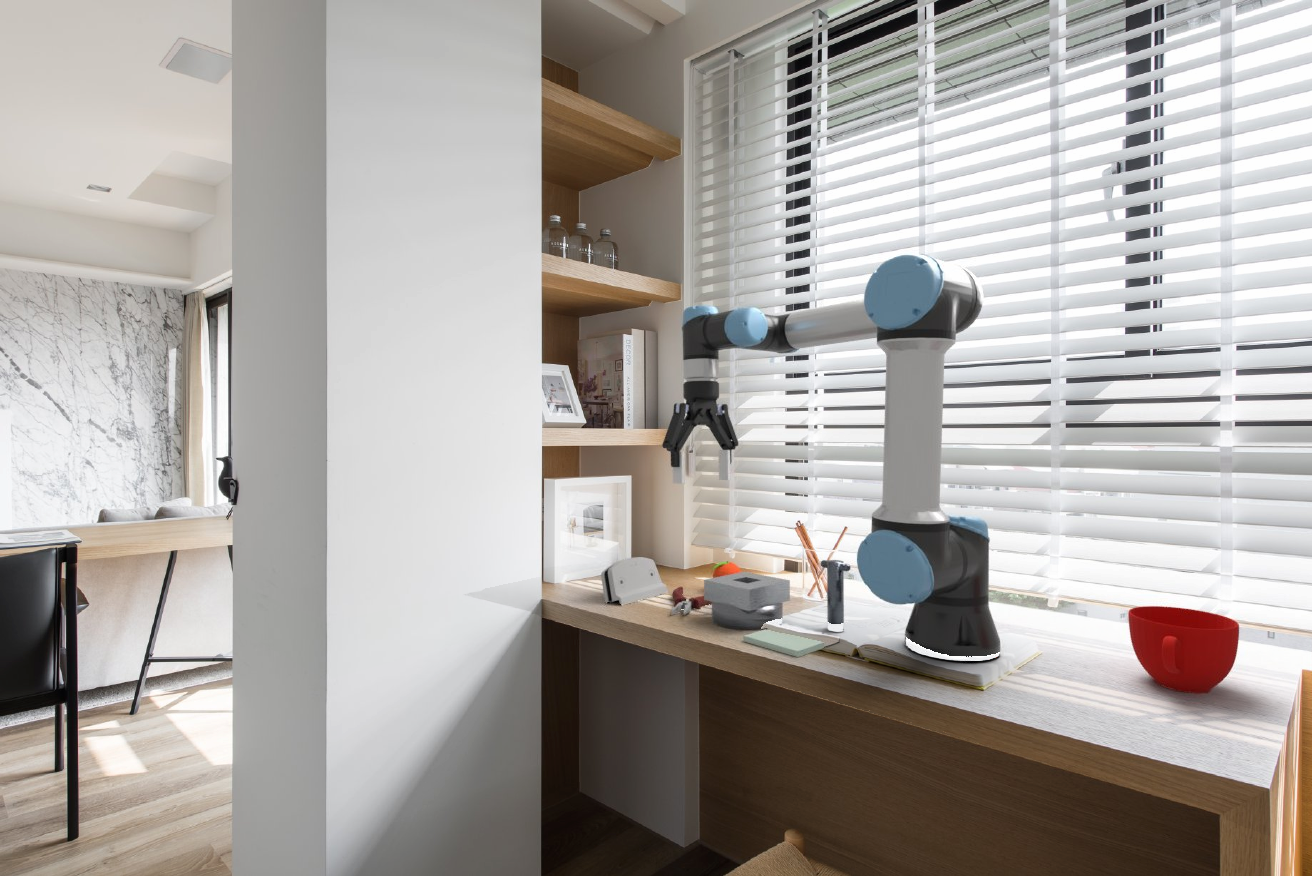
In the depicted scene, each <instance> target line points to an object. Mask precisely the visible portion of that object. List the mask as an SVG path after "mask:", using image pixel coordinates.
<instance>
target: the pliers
mask: <svg viewBox="0 0 1312 876" xmlns="http://www.w3.org/2000/svg"><path fill="white" fill-rule="evenodd" d="M682 594H683V595H682ZM671 596H672V600H673V605H674V606H673V609H672V610H671V612H670V613H669V615H670V616H673V615H677V613H678V612H680V613H682V610H681V609H684V610H683V614H682V615H683V616H686V615H687V614H688V613H690V612H691V611H692V610H697V609H700V610H701V608H702V606H703V607H706V606H705V605H707V606H709V604H711V605H712V602H711V601H707V600H704V595H700V596H696V597H690V598H688V600H687V598H686V597H685V596H684V587H683V586H679V587H677V588H675V589H674V590H673V591H672V595H671ZM678 614H679V613H678Z"/></svg>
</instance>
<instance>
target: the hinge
mask: <svg viewBox="0 0 1312 876" xmlns="http://www.w3.org/2000/svg"><path fill="white" fill-rule="evenodd" d="M660 576H661V575H660V574H659V571H658V568H657V566H656V563H655V561H654V560H653V559H651V558H649V557H642V556H641V557H639V556H638V557H637V556H635V557H628V558H625V559H622V560H618V561H616V562H614V563H612V564H611V565H609V566H607V567H606V568H605V569H603V571H602V572H601V574H600V577H601V578H600V579H601V584H602V585H601V586H602V588H603V589H602V590H603V597H604V603H605V602H610V603H613V602H617V601H619V604H627V603H629V602H635V601H638V600H641V599H645V600H648V599H647V598H649V599H651V598H650V597H652V598H655V596H656V597H659V596H661V595H660V594H662V595H665V594H668V593H669V589H668V587H667V585H666V584H665V583H663V581H662V579H661V577H660ZM658 595H659V596H658ZM638 602H639V601H638ZM635 603H636V602H635Z"/></svg>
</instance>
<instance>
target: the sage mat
mask: <svg viewBox="0 0 1312 876" xmlns="http://www.w3.org/2000/svg"><path fill="white" fill-rule="evenodd" d="M743 642H744V643H749V644H752V645H755V646H759V647H762V648H766V649H768V650H773V651H774V652H775V651H776V652H779V653H782V654H786V655H789V656H792V657H795V658H800V657H802V656H805V655H807V654H811V653H814V652H818V651H819V650H820V651H821V650H822V649H825V648H824V642H821V641H817V640H812V639H808V638H804V637H800V636H795V635H790V634H785V633H779V632H775V631H771V630H766V629H763V630H757V631H756V632H751V633H749V634H745V635H743Z"/></svg>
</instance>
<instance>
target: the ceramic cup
mask: <svg viewBox="0 0 1312 876" xmlns="http://www.w3.org/2000/svg"><path fill="white" fill-rule="evenodd" d="M1127 614H1128V616H1127V617H1128V627H1129V628H1128V630H1129V635H1130V641H1131V645H1132V649H1133V651H1134V653H1135V656H1136V658H1137V660H1138V662H1139V663H1140V666H1142V668H1143V669H1144V670H1145V672H1146V673H1147V674H1148V675H1149V677H1151V678H1152V679H1153V681H1154V682H1155V683H1156V684H1157V685H1158V686H1161V687H1164V688H1166V689H1169V690H1174V691H1177V692H1178V691H1179V692H1182V693H1192V694H1205V693H1206V694H1207V693H1209V692H1210V691H1211V690H1212V689H1214V688H1215V687H1216V686H1218V685H1219V684H1220V683H1222V681H1224V679H1225V678H1227V676H1228V675H1229V674H1230V672H1231V671H1232V669H1233V666H1234V664H1235V662H1236V658H1237V653H1238V649H1239V648H1238V646H1239V640H1240V625H1239V623H1238V622H1237V621H1236V620H1234V619H1232V618H1230V617H1227V616H1224V615H1221V614H1217V613H1214V612H1207V611H1204V610H1198V609H1192V608H1184V607H1176V606H1175V607H1174V606H1163V605H1161V606H1160V605H1159V606H1157V605H1151V606H1150V605H1149V606H1147V605H1145V606H1144V605H1143V606H1136V607H1133V608H1130V609H1129V610H1128V612H1127Z"/></svg>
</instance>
